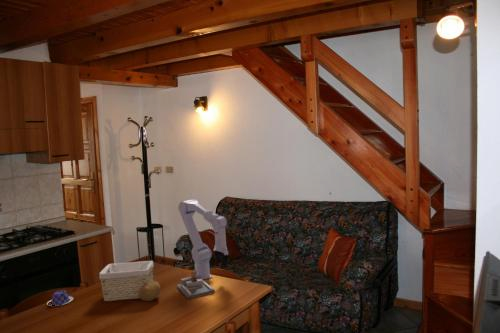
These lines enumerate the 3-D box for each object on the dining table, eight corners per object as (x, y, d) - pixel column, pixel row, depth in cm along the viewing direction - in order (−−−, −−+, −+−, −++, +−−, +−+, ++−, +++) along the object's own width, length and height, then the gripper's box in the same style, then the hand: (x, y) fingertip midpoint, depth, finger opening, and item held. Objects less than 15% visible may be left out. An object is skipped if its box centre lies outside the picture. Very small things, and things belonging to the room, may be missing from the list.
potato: (165, 293, 200) (164, 278, 200) (154, 305, 186) (153, 288, 186) (147, 293, 202) (146, 277, 201) (134, 304, 188) (133, 288, 187)
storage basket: (100, 303, 193) (97, 273, 192) (110, 290, 209) (107, 263, 208) (149, 299, 194) (147, 269, 193) (156, 287, 210) (154, 259, 209)
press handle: (186, 286, 203) (185, 272, 203) (201, 283, 207) (200, 269, 206) (187, 288, 201) (187, 273, 200) (203, 284, 204) (202, 270, 204)
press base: (177, 287, 208) (176, 279, 208) (202, 282, 214) (202, 273, 214) (187, 299, 192) (186, 289, 192) (214, 292, 198) (214, 283, 198)
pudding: (64, 307, 191) (63, 296, 190) (41, 307, 192) (40, 296, 192) (78, 297, 202) (77, 287, 202) (57, 297, 204) (56, 287, 204)
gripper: (208, 238, 215) (210, 263, 216) (218, 243, 202) (220, 270, 203) (220, 236, 218) (222, 260, 219) (231, 241, 205) (232, 267, 206)
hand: (222, 265), depth 211 cm, fingers open, 7 cm apart
